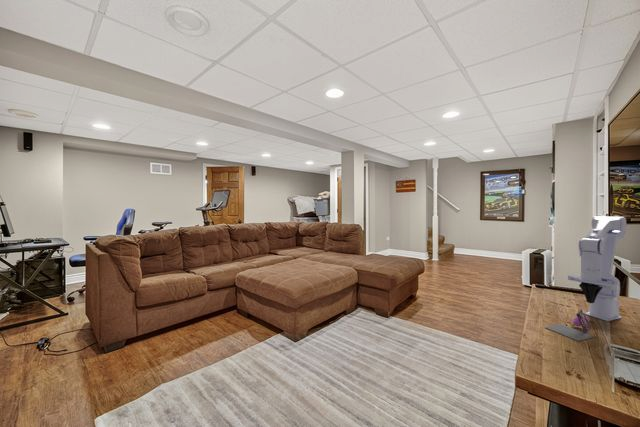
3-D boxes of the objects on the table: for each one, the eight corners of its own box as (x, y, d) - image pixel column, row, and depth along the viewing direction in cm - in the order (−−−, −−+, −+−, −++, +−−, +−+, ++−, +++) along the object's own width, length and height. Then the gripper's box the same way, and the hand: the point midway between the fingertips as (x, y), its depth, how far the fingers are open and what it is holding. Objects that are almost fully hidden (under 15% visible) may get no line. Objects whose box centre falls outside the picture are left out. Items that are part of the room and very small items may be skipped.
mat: (560, 324, 109) (560, 323, 109) (595, 337, 99) (595, 336, 99) (544, 327, 107) (544, 327, 107) (578, 341, 96) (578, 340, 96)
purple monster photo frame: (579, 314, 103) (584, 309, 108) (562, 315, 106) (568, 310, 112) (588, 332, 101) (593, 326, 106) (571, 333, 105) (576, 327, 110)
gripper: (562, 265, 113) (562, 297, 113) (608, 274, 99) (607, 310, 99) (574, 264, 115) (574, 295, 115) (620, 272, 101) (620, 307, 101)
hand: (590, 302), depth 107 cm, fingers closed
